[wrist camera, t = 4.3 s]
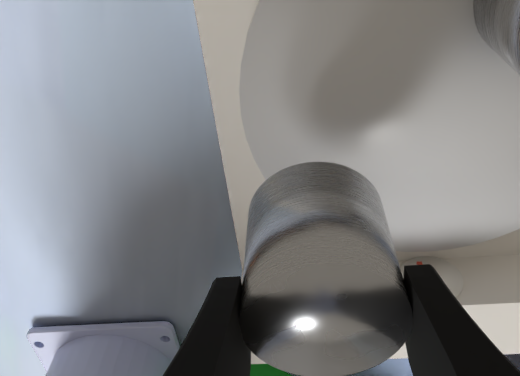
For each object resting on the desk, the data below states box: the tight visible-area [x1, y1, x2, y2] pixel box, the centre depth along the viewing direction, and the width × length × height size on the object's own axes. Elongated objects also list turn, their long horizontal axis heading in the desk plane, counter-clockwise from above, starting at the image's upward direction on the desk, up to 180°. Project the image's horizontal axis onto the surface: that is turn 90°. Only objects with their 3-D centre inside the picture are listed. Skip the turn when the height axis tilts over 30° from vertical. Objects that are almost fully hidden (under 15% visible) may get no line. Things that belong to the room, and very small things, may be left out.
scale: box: [193, 0, 520, 364], centre depth 17 cm, size 17×15×4 cm
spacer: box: [239, 162, 413, 376], centre depth 13 cm, size 4×4×4 cm
